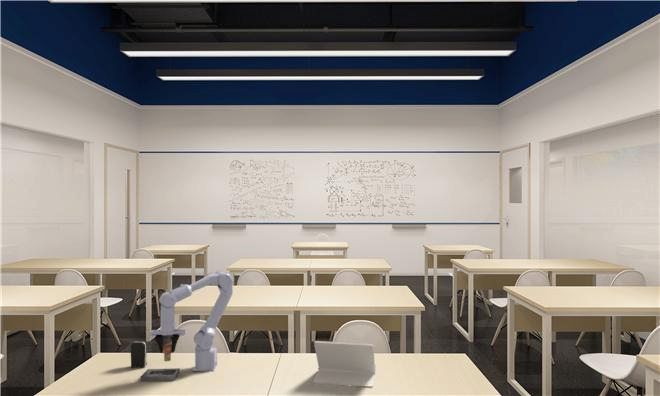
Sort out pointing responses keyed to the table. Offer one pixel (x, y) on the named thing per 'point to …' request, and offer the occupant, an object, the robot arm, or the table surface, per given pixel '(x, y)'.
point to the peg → (167, 351)
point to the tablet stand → (345, 363)
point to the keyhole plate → (160, 375)
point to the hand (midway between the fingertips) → (167, 351)
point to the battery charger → (139, 353)
